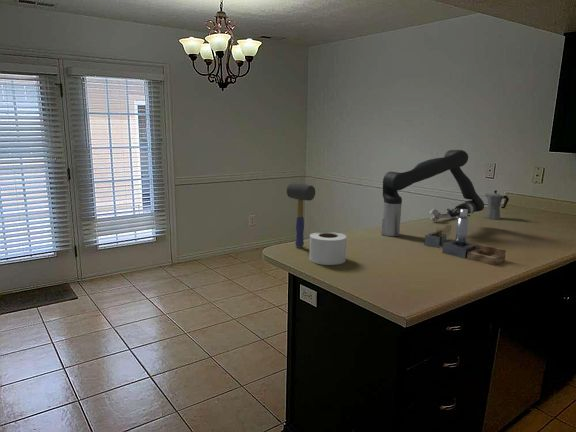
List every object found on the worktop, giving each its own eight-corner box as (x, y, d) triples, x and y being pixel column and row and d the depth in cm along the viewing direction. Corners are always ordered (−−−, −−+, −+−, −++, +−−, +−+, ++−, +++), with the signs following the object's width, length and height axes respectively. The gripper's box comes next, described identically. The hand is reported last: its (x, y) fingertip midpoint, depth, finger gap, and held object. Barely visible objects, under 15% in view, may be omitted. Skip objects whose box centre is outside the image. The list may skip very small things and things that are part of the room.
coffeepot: (478, 217, 283) (481, 189, 279) (486, 215, 288) (489, 188, 285) (502, 221, 271) (505, 192, 267) (509, 219, 276) (513, 191, 273)
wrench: (458, 222, 280) (430, 222, 262) (455, 222, 281) (427, 221, 263) (460, 210, 279) (432, 209, 260) (457, 209, 280) (429, 208, 262)
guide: (431, 241, 219) (432, 232, 218) (445, 244, 215) (446, 234, 214) (424, 245, 212) (425, 235, 211) (438, 247, 208) (439, 237, 207)
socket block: (442, 252, 200) (443, 243, 199) (454, 248, 207) (455, 239, 206) (465, 258, 192) (466, 248, 191) (477, 254, 199) (478, 244, 198)
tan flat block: (444, 238, 226) (445, 224, 225) (450, 239, 224) (451, 224, 223) (435, 242, 217) (436, 227, 216) (441, 243, 215) (442, 228, 214)
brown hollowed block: (466, 258, 192) (467, 247, 191) (477, 254, 198) (478, 244, 197) (493, 265, 183) (495, 254, 182) (504, 261, 189) (505, 250, 188)
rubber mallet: (284, 246, 206) (285, 182, 200) (294, 243, 211) (295, 181, 205) (304, 251, 198) (306, 185, 192) (314, 248, 203) (316, 184, 197)
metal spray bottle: (455, 249, 197) (459, 210, 194) (454, 246, 201) (458, 208, 198) (465, 249, 196) (470, 210, 192) (464, 247, 200) (468, 208, 197)
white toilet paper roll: (308, 254, 194) (309, 230, 192) (343, 255, 194) (344, 231, 191) (309, 265, 179) (310, 239, 177) (347, 266, 179) (348, 240, 176)
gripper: (452, 201, 242) (440, 206, 229) (477, 204, 233) (465, 209, 220) (451, 215, 243) (439, 220, 230) (475, 218, 235) (464, 224, 222)
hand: (452, 215), depth 225 cm, fingers closed
